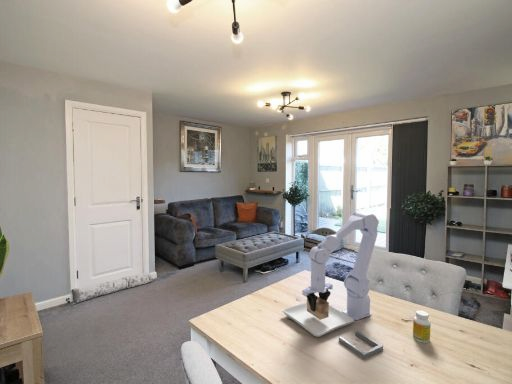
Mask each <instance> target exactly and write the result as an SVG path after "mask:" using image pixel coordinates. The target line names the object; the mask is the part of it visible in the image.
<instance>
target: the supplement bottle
mask: <svg viewBox="0 0 512 384" xmlns="http://www.w3.org/2000/svg"><path fill="white" fill-rule="evenodd" d="M429 315H430V314H429V313H428V312H426V311H425V310H420V309H419V310H416V311H415V316H414V317H413V320H412V322H413V323H412V325H413V326H412V337H413V339H414V340H416V341H417V342H421V343H430V341H431V325H432V324H431V320H430V319H429Z"/></svg>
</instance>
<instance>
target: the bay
mask: <svg viewBox="0 0 512 384" xmlns="http://www.w3.org/2000/svg"><path fill="white" fill-rule="evenodd" d="M354 332H355V336H356V337H358V338H360V339H362V340H363V341H364V342H366V343H368V344H369V345H371V346H372V347H371V348H369V349H367V350H365V351H364V350H362V349H360V348H359V347H357V346H355V345H354V344H353V343H351V342H350V341H348V340H347V339H345V338H344V337H343V336H339V337H338V342H339V343H341V344H343V346H345V347H346V348H348V349H349V350H350V351H352V352H353V353H355V354H356V355H358V356H359V357H361V358H362V359H363V360H365V359H367V358H369V357H371V356H374V355H376V354H378V353H380V352H382V351H384V345H382V344H381V343H379V342H377V341H376V340H375V339H372V338H371V337H369V336H368V335H367V334H365V333H363V332H361V331H360V330H358V329H355V331H354Z"/></svg>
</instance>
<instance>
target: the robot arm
mask: <svg viewBox="0 0 512 384" xmlns="http://www.w3.org/2000/svg"><path fill="white" fill-rule="evenodd" d="M379 224H380V222H379V219H378V218H377V216H376V215H375V214H373V213H367V212H363V211H362V212H361V211H354V212H353V213H352V214H351V215H350V216H349V218H348V220H347V221H346V222H345V223H344V224H343V225H341V227H340V228H339V229H338V230H337V231H336V233H334V234H329V235H326V236H325V238H324V239H323V240H322V241H321V242H320V243H318V244H317V246H315V245H314V246H313V247H311V249H310V250H309V252H308V254H307V255H308V258H309V259H310V285H309V286H308V287H306V288H304V289H302V293H301V294H302V295H303V296H304V297H306V300H307V299H308V301H309V305H310V309H311V310H312V311H313V312H315V309H316V301H317V298H318V297H320V298H322V299H323V300H325V301H327V302H328V299H329V297H330V296H331V291H330V290H333V289H334V287H333V284H332V283H329V282H328V283H326V263H327V262H328V260H329V258H330V256H331V254H332V253H333V252H335V250H337V249H338V248H339V247H340V246H341V242H342V240H343V239H345V238H346V237H347V236H348V235H350V234H351V233H353V231H357V230H359V231H360V233H361V234H362V237H361V240H360V245H359V248H358V252H357V255H356V259H355V262H354V266H353V268H352V270H350V271H349V272H348V271H347V272H348V273H347V276H346V277H345V278H344V280H343V286H344V287H345V289H346V292H347V293H346V309H344V310H342V311H341V312H343V313H345V314H346V315H348V316H350V317H352V318H353V319H354V321H359V320H361V319H363V318H366V317H369V316H372V313H371V297H370V295H369V293H370V282H371V281H370V279H369V277H368V275H367V274H368V269H369V266H370V263H371V259H372V255H373V252H374V248H375V245H376V241H377V239H378V238H377V237H378V227H379ZM316 293H318V295H316ZM315 295H316V296H315ZM317 296H318V297H317Z"/></svg>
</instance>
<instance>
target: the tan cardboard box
mask: <svg viewBox="0 0 512 384" xmlns="http://www.w3.org/2000/svg"><path fill="white" fill-rule="evenodd" d="M315 296H317V297H318V298H317V301H316V309H315V312H313V311H312V310H311V309H310V305H309V301H308V299H307V298H306V302H307V311H308V312H309V313H311V314H312V315H314V316H315V317H317V318H318V319H319V320H321V319H324V318H327V317H329V305H330V304H329V301H328V300H327V301H325V300H323V299H322V298H320V297H319V295H316V294H315Z"/></svg>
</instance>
